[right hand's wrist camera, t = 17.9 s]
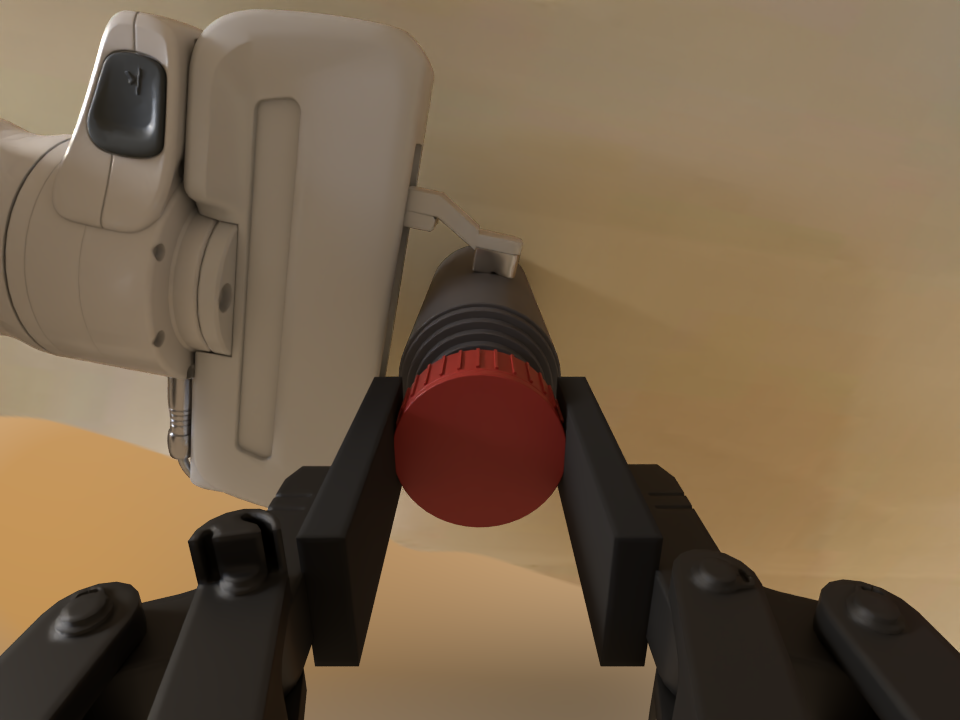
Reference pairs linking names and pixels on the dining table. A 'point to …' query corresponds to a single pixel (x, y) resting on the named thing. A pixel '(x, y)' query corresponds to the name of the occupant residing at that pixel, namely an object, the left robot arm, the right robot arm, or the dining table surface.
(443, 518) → the cap
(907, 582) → the dining table surface
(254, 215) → the left robot arm
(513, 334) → the bottle
